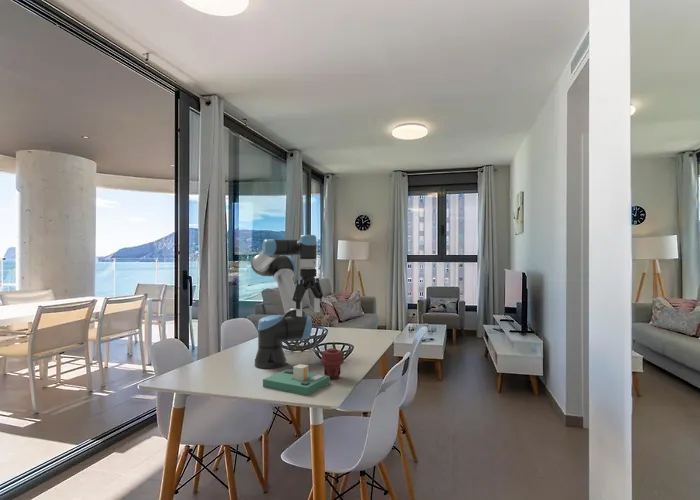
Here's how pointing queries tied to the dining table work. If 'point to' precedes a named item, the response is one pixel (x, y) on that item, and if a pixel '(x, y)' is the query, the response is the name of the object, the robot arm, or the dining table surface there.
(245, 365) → the dining table surface
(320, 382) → the board
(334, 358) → the mechanical component
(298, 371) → the plug
